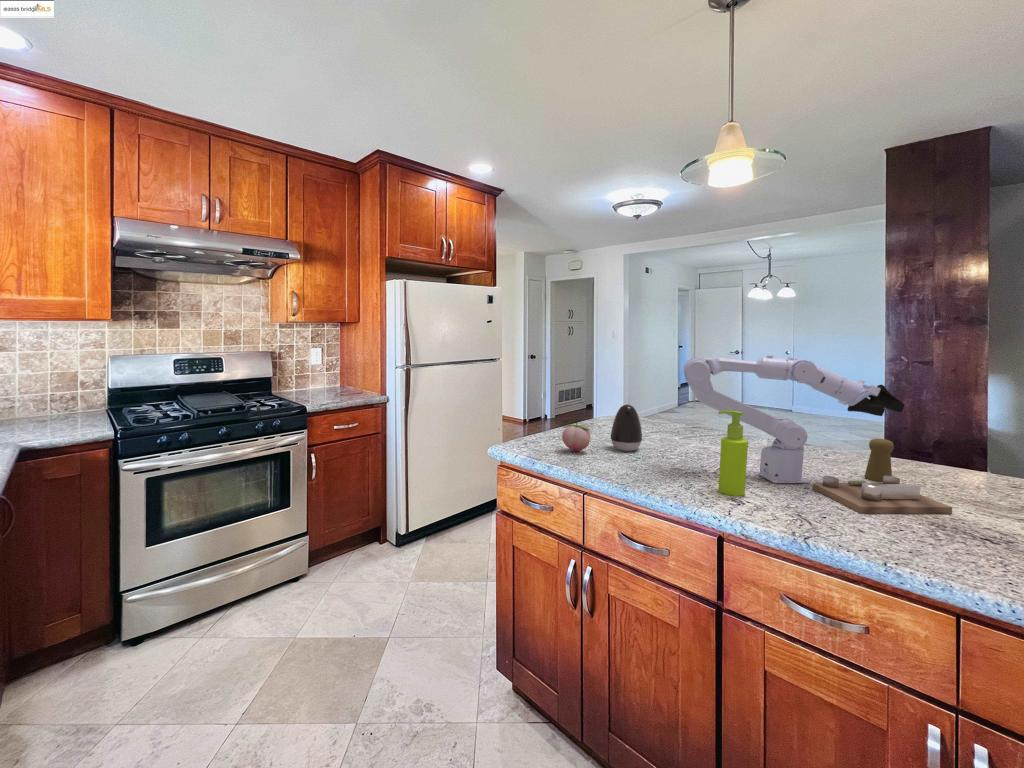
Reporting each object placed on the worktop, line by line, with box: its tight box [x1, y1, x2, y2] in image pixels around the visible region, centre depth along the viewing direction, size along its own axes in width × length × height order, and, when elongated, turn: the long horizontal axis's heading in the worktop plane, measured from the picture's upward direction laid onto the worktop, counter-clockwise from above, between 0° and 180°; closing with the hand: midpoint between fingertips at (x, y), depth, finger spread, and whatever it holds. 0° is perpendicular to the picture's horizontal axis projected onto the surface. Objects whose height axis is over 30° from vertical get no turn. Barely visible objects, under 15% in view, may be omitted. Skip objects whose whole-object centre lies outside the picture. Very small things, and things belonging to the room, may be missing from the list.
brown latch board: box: [812, 475, 953, 515], centre depth 109 cm, size 20×16×4 cm
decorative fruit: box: [561, 421, 591, 453], centre depth 152 cm, size 9×8×10 cm
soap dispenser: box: [717, 410, 749, 497], centre depth 114 cm, size 6×7×20 cm
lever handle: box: [861, 482, 921, 501], centre depth 106 cm, size 12×4×3 cm, turn 91°
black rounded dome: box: [610, 404, 643, 452], centre depth 155 cm, size 10×10×15 cm
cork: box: [863, 438, 894, 483], centre depth 125 cm, size 6×6×11 cm
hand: (892, 410), depth 116 cm, fingers open, 7 cm apart
